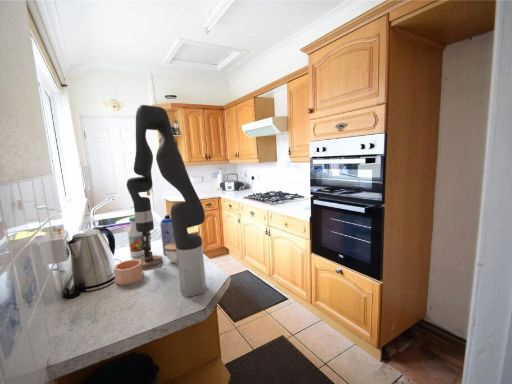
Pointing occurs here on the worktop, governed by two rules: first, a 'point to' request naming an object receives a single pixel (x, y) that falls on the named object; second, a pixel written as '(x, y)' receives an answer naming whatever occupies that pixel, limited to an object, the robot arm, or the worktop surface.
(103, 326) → the worktop surface
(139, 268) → the bowl
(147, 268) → the mat
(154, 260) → the lid
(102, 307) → the worktop surface
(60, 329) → the worktop surface
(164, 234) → the aerosol can
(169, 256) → the lidded jar
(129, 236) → the milk bottle
